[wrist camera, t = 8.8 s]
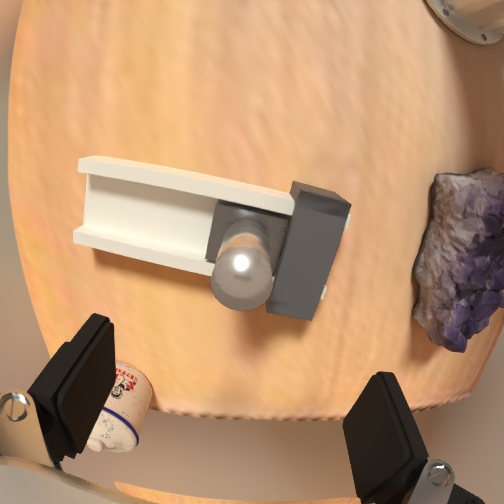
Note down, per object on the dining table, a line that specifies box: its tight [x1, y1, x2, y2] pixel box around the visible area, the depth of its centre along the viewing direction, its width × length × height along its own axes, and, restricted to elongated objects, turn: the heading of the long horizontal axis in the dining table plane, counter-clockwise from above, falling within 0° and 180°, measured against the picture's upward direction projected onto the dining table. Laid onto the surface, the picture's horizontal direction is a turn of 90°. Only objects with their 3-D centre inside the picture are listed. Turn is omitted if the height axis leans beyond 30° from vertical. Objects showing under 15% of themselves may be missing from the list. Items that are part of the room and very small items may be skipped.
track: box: [73, 156, 351, 321], centre depth 26 cm, size 24×10×6 cm, turn 77°
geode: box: [412, 168, 504, 353], centre depth 25 cm, size 20×12×10 cm, turn 176°
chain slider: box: [205, 199, 289, 311], centre depth 23 cm, size 10×5×10 cm, turn 77°
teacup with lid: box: [87, 360, 152, 453], centre depth 31 cm, size 12×9×12 cm
